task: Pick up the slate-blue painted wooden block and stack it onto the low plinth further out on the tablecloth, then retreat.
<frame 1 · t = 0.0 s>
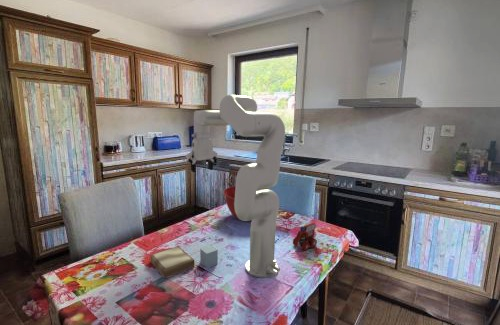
hand: (202, 170, 131), 31 cm above the table, fingers open, 9 cm apart
plinth: (172, 264, 104), on the table
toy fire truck: (304, 246, 121), on the table
mixing bowl: (246, 216, 156), on the table
block: (209, 263, 106), on the table
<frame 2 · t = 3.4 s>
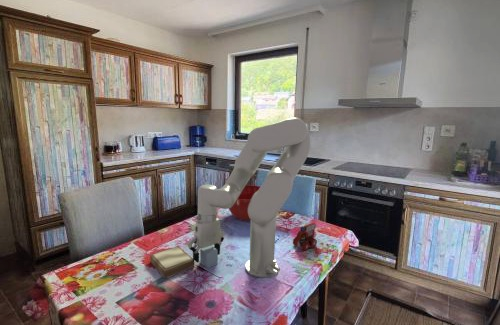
hand: (206, 256, 105), 2 cm above the table, fingers open, 9 cm apart
nothing on the table moved.
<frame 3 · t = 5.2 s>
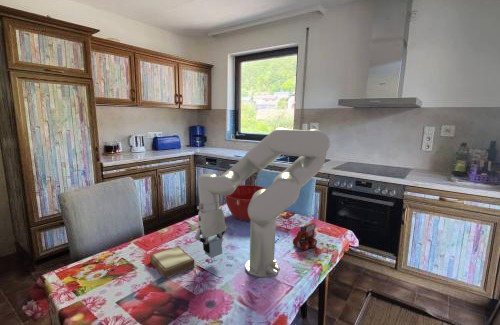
hand: (213, 249, 104), 6 cm above the table, fingers closed on block, 4 cm apart
block: (213, 253, 104), point 4 cm above the table, touching gripper
everything else where it was.
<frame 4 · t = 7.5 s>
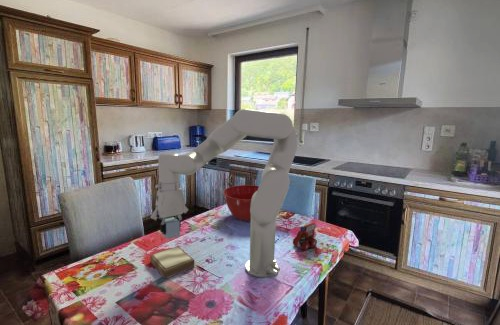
hand: (170, 230, 101), 14 cm above the table, fingers closed on block, 4 cm apart
block: (170, 235, 102), point 12 cm above the table, touching gripper
everything else where it was.
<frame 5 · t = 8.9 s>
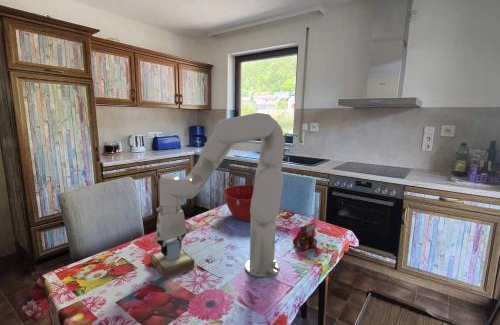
hand: (171, 251, 103), 5 cm above the table, fingers closed on block, 4 cm apart
block: (171, 256, 103), point 4 cm above the table, touching gripper
everything else where it was.
when the fingers open (5 cm above the table, at t = 9.8 s): block stays where it is, resting on plinth.
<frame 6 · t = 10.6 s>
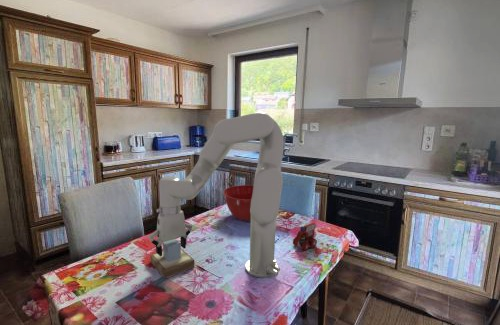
hand: (171, 250, 103), 6 cm above the table, fingers open, 9 cm apart
block: (172, 256, 103), point 3 cm above the table, touching plinth
everything else where it was.
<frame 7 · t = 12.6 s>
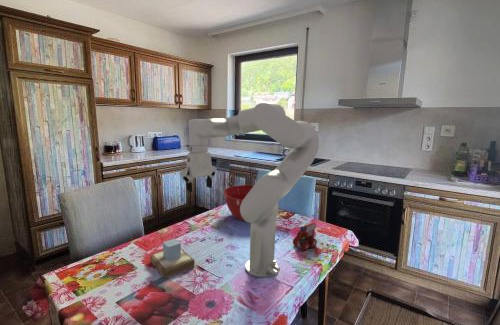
hand: (199, 189, 111), 27 cm above the table, fingers open, 9 cm apart
nothing on the table moved.
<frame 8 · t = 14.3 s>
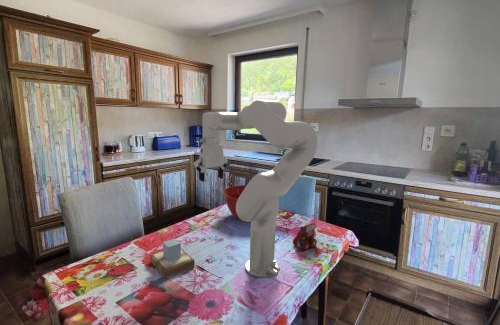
hand: (211, 179, 117), 30 cm above the table, fingers open, 9 cm apart
nothing on the table moved.
at the end: block 0.2 cm from the plinth (horizontally); block touching plinth; block point 3.2 cm above the table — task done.
